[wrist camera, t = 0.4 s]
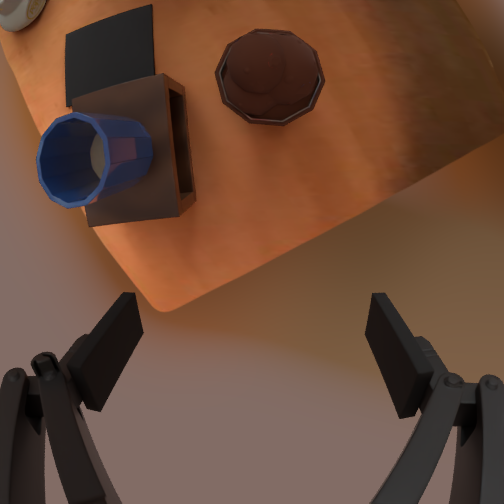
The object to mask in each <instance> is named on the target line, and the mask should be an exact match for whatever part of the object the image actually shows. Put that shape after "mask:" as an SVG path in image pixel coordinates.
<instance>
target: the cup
mask: <svg viewBox="0 0 504 504" xmlns="http://www.w3.org/2000/svg"><path fill="white" fill-rule="evenodd" d="M152 159H153V149H152V141H151V136H150V135H149V133H148V132H147V131H146V129H145V128H144V127H143V125H142V124H141V123H140V122H138V121H135V120H133V119H130V118H127V117H123V116H114V115H105V114H95V113H84V112H73V113H70V114H67V115H64V116H61V117H59V118H56V119H55V120H54V122H53V123H52V124H51V125H50V126H49V128H48V129H47V130H46V131H45V133H44V134H43V135H42V137H41V141H40V145H39V148H38V152H37V156H36V163H37V171H38V177H39V181H40V184H41V186H42V187H43V189H44V190H45V192H46V193H47V195H48V196H49V198H50V199H51V200H52V201H54V202H56V203H58V204H60V205H62V206H64V207H65V208H74V207H81V206H86V205H89V204H91V203H93V202H96V201H98V200H100V199H103V198H105V197H108V196H110V195H113V194H115V193H117V192H120V191H123V190H125V189H128V188H130V187H132V186H134V185H135V184H136V183H137V182H139V181H140V180H141V179H142V178H143V177H144V176H146V174H147V172H148V169H149V167H150V164H151V161H152Z"/></svg>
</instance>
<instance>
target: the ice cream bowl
mask: <svg viewBox="0 0 504 504" xmlns="http://www.w3.org/2000/svg"><path fill="white" fill-rule="evenodd" d="M215 76H216V80H217V84H218V87H219V91H220V95H221V99H222V102H223V104H225V105H226V106H227V107H229V108H230V109H231V110H233V111H234V112H235V113H236V114H238V115H239V116H240V117H242V118H243V119H244V120H245V121H247V122H248V123H250V124H265V125H277V126H285V125H287V124H288V123H290V122H292V121H294V120H295V119H297V118H299V117H301V116H303V115H304V114H306V113H308V112H310V111H312V110H313V109H314V106H315V104H316V102H317V99H318V97H319V95H320V92H321V90H322V88H323V85H324V83H325V78H324V75H323V71H322V68H321V64H320V61H319V58H318V54H317V51H316V50H314V49H313V48H312V47H311V46H309V45H308V44H307V43H305V42H304V41H303V40H301V39H300V38H299V37H297V36H296V35H295V34H293V33H292V32H291V31H283V30H271V29H255V30H253V31H251V32H249V33H247V34H245V35H243V36H241V37H239V38H238V39H236V40H234V41H233V42H231V43H229V44H227V47H226V49H225V51H224V53H223V55H222V57H221V59H220V62H219V64H218V66H217V68H216V71H215Z"/></svg>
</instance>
